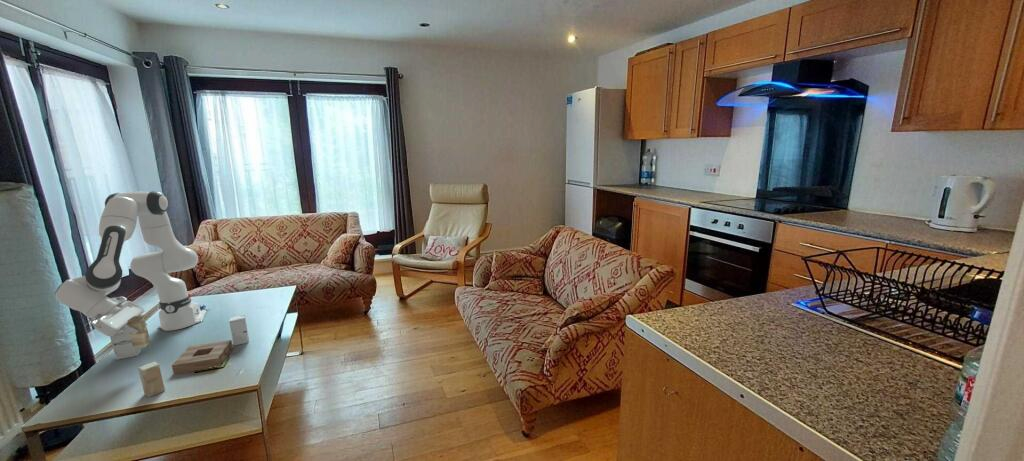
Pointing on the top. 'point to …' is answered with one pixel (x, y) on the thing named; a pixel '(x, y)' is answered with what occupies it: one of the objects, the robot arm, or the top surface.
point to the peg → (139, 332)
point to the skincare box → (239, 330)
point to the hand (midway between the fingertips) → (141, 329)
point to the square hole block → (202, 356)
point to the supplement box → (123, 345)
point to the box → (151, 379)
